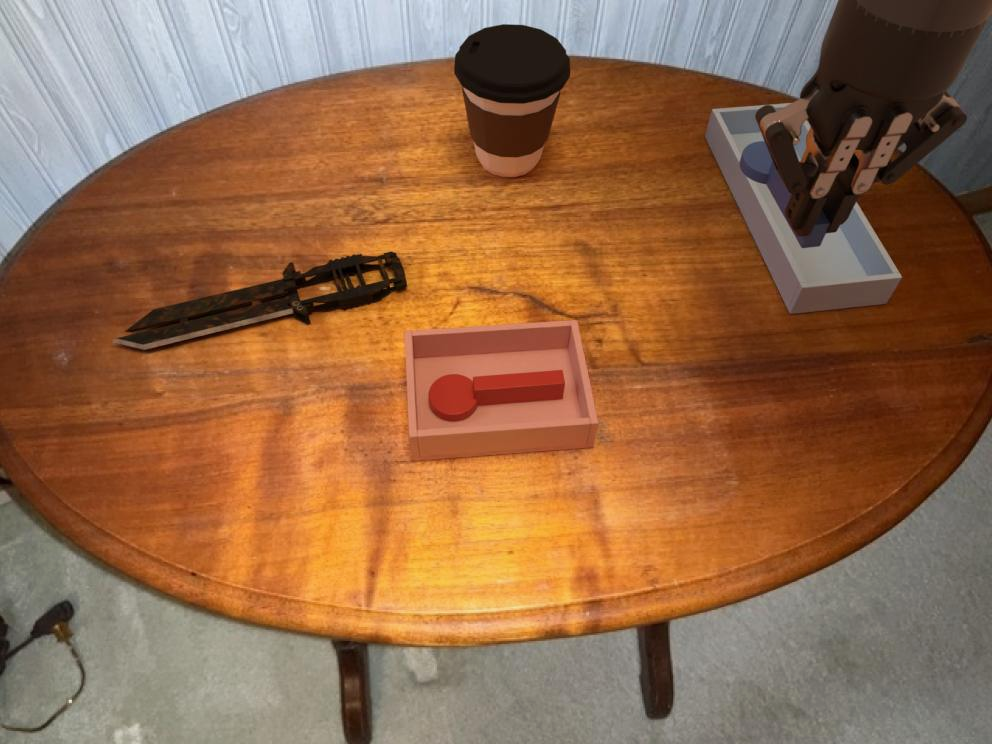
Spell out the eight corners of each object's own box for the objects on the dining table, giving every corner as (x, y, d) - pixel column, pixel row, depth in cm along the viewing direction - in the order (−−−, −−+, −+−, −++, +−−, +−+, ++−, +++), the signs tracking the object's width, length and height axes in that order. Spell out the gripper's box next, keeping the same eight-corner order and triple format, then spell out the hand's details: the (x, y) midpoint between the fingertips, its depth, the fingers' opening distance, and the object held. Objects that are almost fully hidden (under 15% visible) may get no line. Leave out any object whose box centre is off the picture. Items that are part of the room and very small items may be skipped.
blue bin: (886, 303, 74) (902, 277, 71) (789, 314, 73) (802, 287, 70) (786, 130, 89) (796, 102, 86) (704, 136, 88) (712, 108, 85)
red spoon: (557, 372, 68) (560, 356, 66) (565, 412, 66) (568, 396, 64) (427, 382, 67) (426, 366, 65) (430, 423, 65) (429, 408, 63)
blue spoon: (837, 244, 58) (848, 221, 56) (784, 250, 57) (793, 227, 56) (780, 149, 64) (788, 125, 63) (731, 153, 64) (739, 130, 62)
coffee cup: (444, 184, 82) (440, 78, 73) (469, 118, 89) (468, 13, 79) (551, 201, 81) (561, 96, 71) (568, 134, 88) (580, 29, 78)
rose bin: (573, 345, 70) (577, 319, 68) (593, 447, 64) (598, 423, 61) (407, 356, 69) (404, 330, 66) (411, 461, 63) (409, 437, 60)
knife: (115, 360, 68) (109, 349, 67) (115, 303, 72) (110, 292, 71) (412, 305, 73) (411, 295, 72) (398, 254, 76) (397, 243, 75)
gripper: (828, 36, 40) (736, 276, 54) (1078, 16, 42) (926, 254, 56) (773, -42, 45) (701, 199, 59) (1001, -57, 46) (878, 181, 60)
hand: (811, 225), depth 57 cm, fingers closed on blue spoon, 1 cm apart
